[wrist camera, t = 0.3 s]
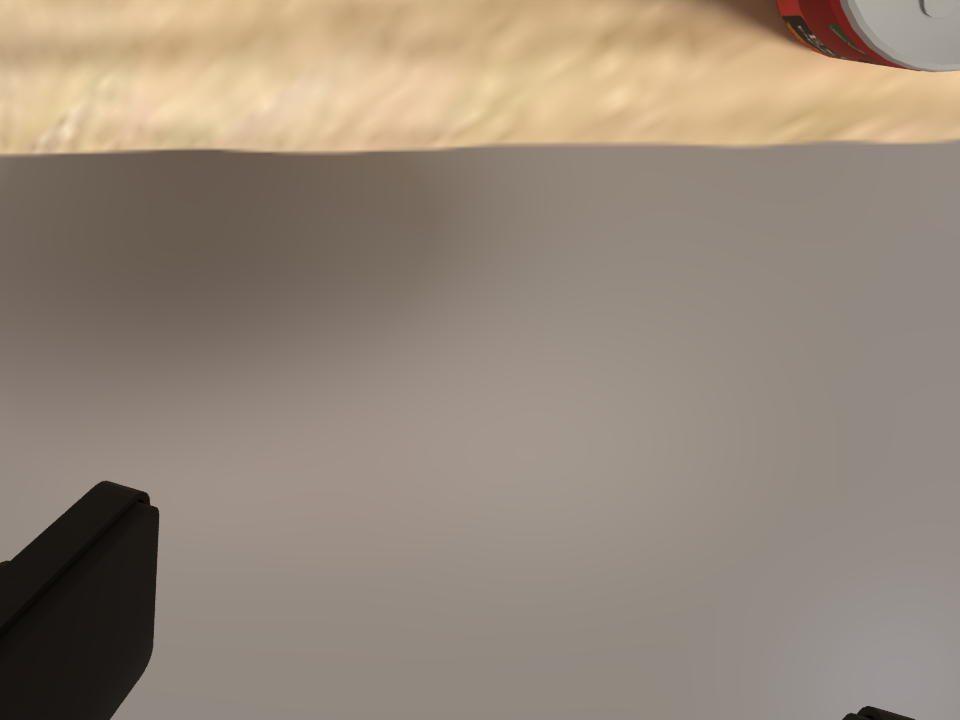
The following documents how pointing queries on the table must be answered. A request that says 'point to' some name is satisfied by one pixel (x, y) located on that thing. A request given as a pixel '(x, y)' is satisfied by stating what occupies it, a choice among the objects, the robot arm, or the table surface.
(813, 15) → the canned food
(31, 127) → the table surface
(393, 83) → the table surface
